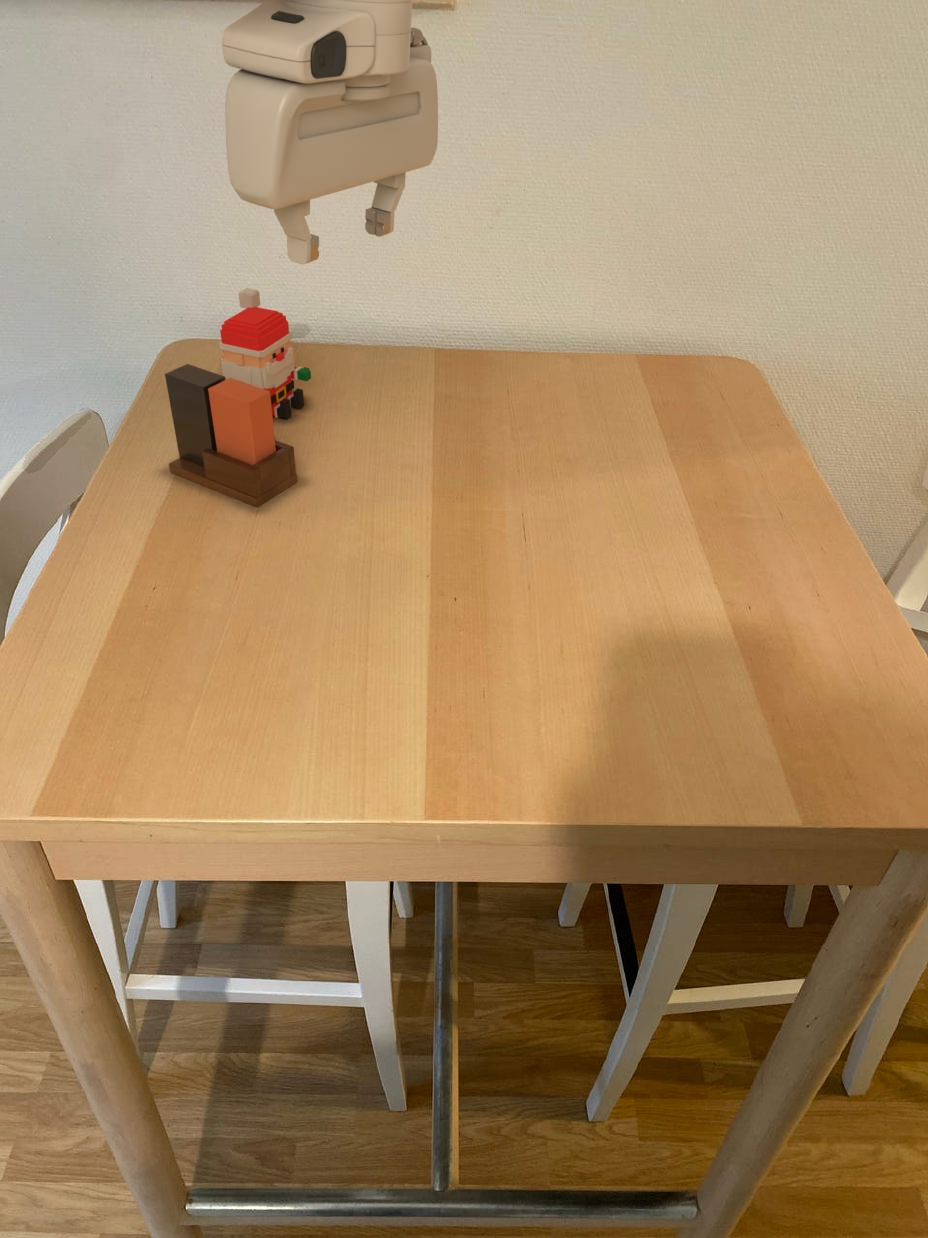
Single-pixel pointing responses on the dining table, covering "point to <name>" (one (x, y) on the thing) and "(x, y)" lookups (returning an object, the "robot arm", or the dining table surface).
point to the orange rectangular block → (242, 420)
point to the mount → (201, 448)
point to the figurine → (262, 353)
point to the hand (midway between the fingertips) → (343, 246)
